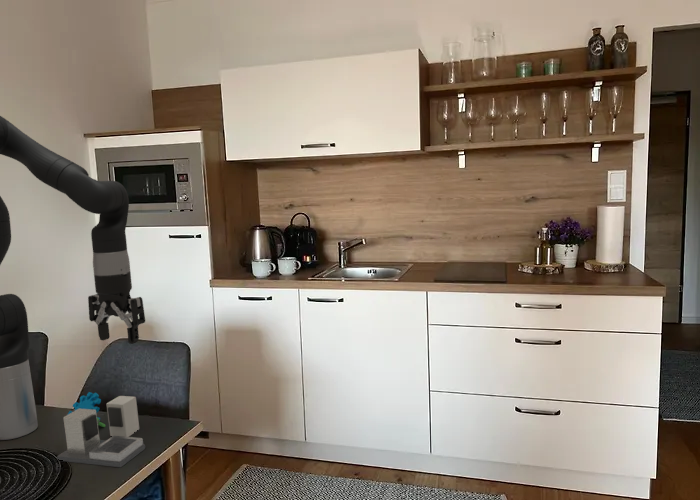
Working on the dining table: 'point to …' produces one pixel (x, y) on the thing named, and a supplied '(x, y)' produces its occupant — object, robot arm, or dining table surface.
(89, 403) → the blue spiky virus toy
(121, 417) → the block
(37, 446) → the dining table surface
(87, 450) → the base with upright block
